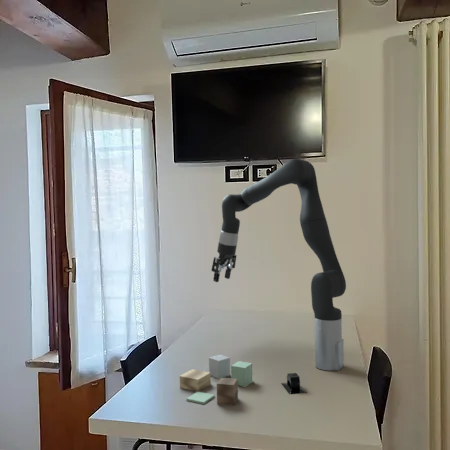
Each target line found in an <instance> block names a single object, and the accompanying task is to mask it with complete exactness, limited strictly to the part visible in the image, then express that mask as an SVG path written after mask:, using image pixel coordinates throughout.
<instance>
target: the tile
mask: <svg viewBox="0 0 450 450" xmlns="http://www.w3.org/2000/svg"><path fill="white" fill-rule="evenodd" d="M213 398H215V394H212V393H207V392H201V391H199V392H197V391H195V393H193V394H191V395H190V396H188V397H187V398H186V401H187V402H192V403H195V404H196V403H197V404H200V405H205V404H207V403H208V402H209V401H211V400H212V399H213Z"/></svg>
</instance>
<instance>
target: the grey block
mask: <svg viewBox="0 0 450 450" xmlns="http://www.w3.org/2000/svg"><path fill="white" fill-rule="evenodd" d="M208 372H209V373H210V374H211V377H213V378H216V379H217V380H220V378H227V377H229V376H231V357H230V356H226V355H224V354H217V355H214V356H210V357H208Z"/></svg>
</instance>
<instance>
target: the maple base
mask: <svg viewBox="0 0 450 450" xmlns="http://www.w3.org/2000/svg"><path fill="white" fill-rule="evenodd" d="M211 378H212V376H211V374H210V373H209V371H203V370H199V369H195V368H194V369H193V368H192V369H189V370H188V371H186V372H184V373H183V374H180V375H179V388H180V389H184V390H188V391H193V392H201V391H202V390H204V389H205V388H207V387H209V386H210V385H211V384H212V381H211Z"/></svg>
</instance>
